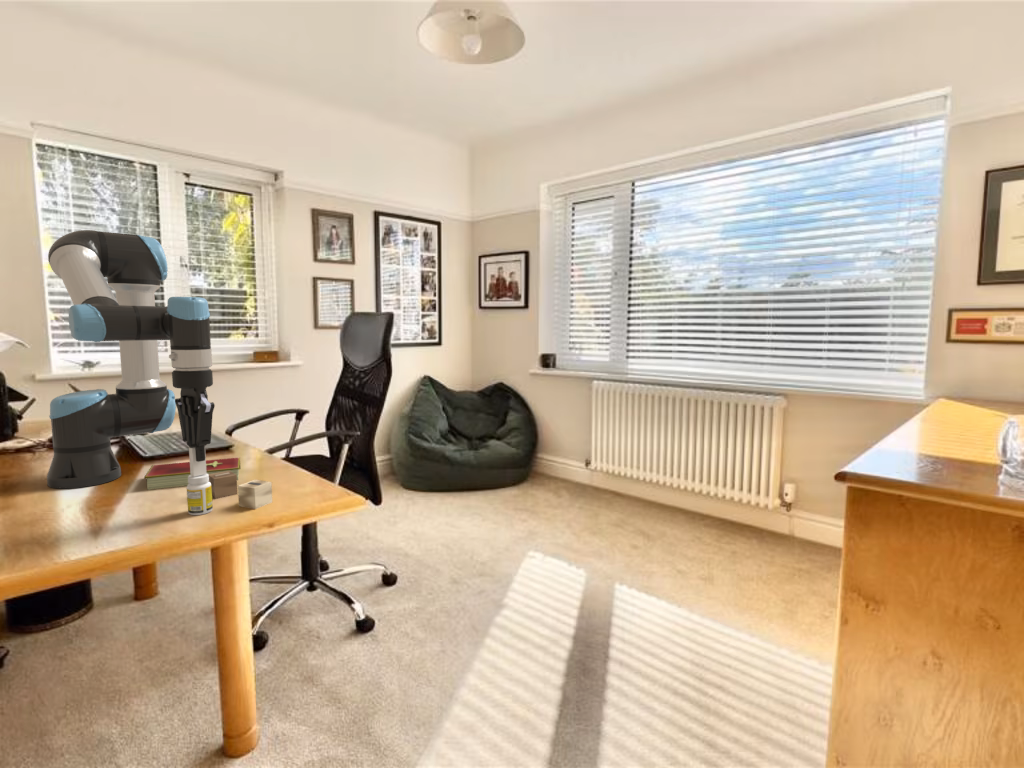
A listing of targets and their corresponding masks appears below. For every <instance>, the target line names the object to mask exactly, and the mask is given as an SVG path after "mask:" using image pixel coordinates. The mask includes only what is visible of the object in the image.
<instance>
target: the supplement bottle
mask: <svg viewBox="0 0 1024 768" xmlns="http://www.w3.org/2000/svg"><path fill="white" fill-rule="evenodd" d="M208 481H209V475H208V474H204V475H199V476H195V477H193V476H191V475H190V476H188V483H189V484H188V485H187V486H186V498H187V511H188V514H189V515H191V516H200V515H201V516H202V515H206V514H208V513H211V512H212V511H213V497H212V488H211V483H210V482H208Z"/></svg>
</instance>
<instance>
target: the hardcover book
mask: <svg viewBox="0 0 1024 768" xmlns="http://www.w3.org/2000/svg"><path fill="white" fill-rule="evenodd" d="M240 470H241V457H229V458H217V459H209V460H207V459H206V471H207V474H213V473H219V472H225V471H231V472H233V473H234V474H236V475H237V481H239V477H240V476H239V474H240ZM190 475H191V474H190V461H185V462H173V463H164V464H163V463H162V464H152V465H150V468H149V469H148V471H147V473H146V474H144V477H143V478H144V479H146V488H147V491H151V490H159V489H168V488H177V487H178V488H179V487H187V485H188V484H189V483H188V476H190Z"/></svg>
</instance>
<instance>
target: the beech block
mask: <svg viewBox="0 0 1024 768" xmlns="http://www.w3.org/2000/svg"><path fill="white" fill-rule="evenodd" d="M272 483H273V482H272V481H266V480H260V479H253V480H250V481H247V482H245V483H242V484H239V485H238V484H237V495H238V507H242V508H246V509H253V510H257V509H260V508H262V507H264V506H267V505H269V504H272V503H273V488H272V485H273V484H272Z"/></svg>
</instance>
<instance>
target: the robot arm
mask: <svg viewBox="0 0 1024 768" xmlns="http://www.w3.org/2000/svg"><path fill="white" fill-rule="evenodd" d="M47 258H48V259H47V260H48V263H49V265H50V268H51V271H52V272H53V273H54V274H55V275H56V276H57V277H59V278H60V279H61V280H62V282H63V284H64V286H65V289H66V290H67V292H68V295H69V297H70V299H71V301H72V305H70V307H69V309H68V325H69V329H70V334H71V337H72V338H73V339H74V340H76V341H79V342H93V343H100V342H119V355H120V358H119V359H120V368H121V381H120V382H119V383H117V384H116V386H115V393H112V394H111V393H108V392H107V390H106V389H103V388H102V389H101V388H97V389H88V390H81V391H75V392H74V391H73V392H69V393H65V394H62V395H58V396H56V397H54V398H53V399H52V400H51V401H50V403H49V415H48V416H49V417H48V418H49V419H50V422H51V423H50V424H51V435H52V436H51V439H52V449H53V456H52V460H51V462H50V466H49V469H48V473H47V476H46V483H47V487H49V488H52V489H77V488H84V487H85V488H86V487H92V486H96V485H102V484H104V483H109V482H112V481H114V480H117V479H119V478H120V477H121V476H122V468H121V465H120V463H119V461H118V459H117V457H116V455H115V453H114V451H113V449H112V444H111V439H112V438H116V437H117V438H119V437H126V436H133V435H141V434H154V433H156V432H157V433H158V432H163V431H166V430H168V429H170V427H171V426H172V424H174V420H175V417H176V416H175V415H176V409H177V414H178V419H179V425H180V431H181V437H182V441H183V442H184V443H185V442H186V444H187V446H188V455H189V462H190V474H191V476H193V477H195V476H199V475H204V474H207V471H206V460H207V456H206V446H207V445H210V444H211V443H212V441H211V440H212V431H213V430H212V428H213V427H212V426H213V424H212V423H213V415H214V414H213V413H214V410H215V406H216V405H215V403H214V402H210V401H208V392H207V388H208V387H212V386H213V384H214V378H213V376H214V375H213V370H212V369H210V368H211V367H212V366H213V358H212V357H213V356H212V355H213V354H212V346H211V344H212V343H211V341H212V340H211V325H210V317H211V313H210V309H209V302H208V300H207V299H206V298H204V297H198V296H171V297H169V298H168V299H167V306H158V305H157V306H156V299H155V293H156V291H158V290H159V288H161V282H164V281H165V280H167V278H168V261H167V257H166V254H165V251H164V248H163V246H162V245H161V243H160V241H158V240H157V239H156V238H154V237H150V236H146V235H145V236H144V235H140V234H129V233H121V232H112V231H111V232H110V231H108V232H107V231H101V230H100V231H99V230H93V229H82V230H81V229H80V230H76V231H72V232H69V233H66V234H64V235H62V236H61V237H59V238H57V239H56V241H54V243H52V244H51V246H50V248H49V250H48V254H47ZM106 278H107V279H106ZM106 280H107V281H106ZM112 289H113V291H114V292H115V294H114V293H113V292H112ZM158 341H169V347H170V348H169V349H170V354H169V355H168V358H169V359H170V360H171V367H172V368H173V369H174V370H173V371H172V372H171V380H172V386H173V388H175V389H180V397H179V398H176V397H175V392H174V391H173V390H171V389H169V388H167V387H168V386H167V383H166V382H164V381H163V380H162V379H161V376H160V365H159V364H160V363H159V361H160V360H159V359H160V358H159V346H158Z"/></svg>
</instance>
